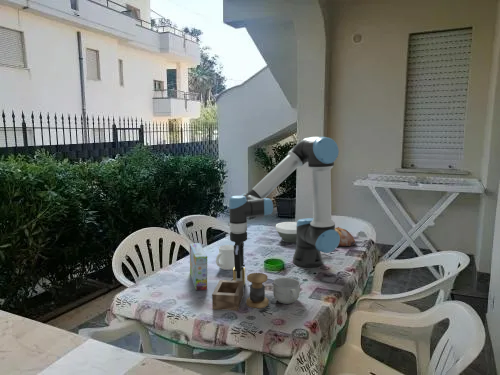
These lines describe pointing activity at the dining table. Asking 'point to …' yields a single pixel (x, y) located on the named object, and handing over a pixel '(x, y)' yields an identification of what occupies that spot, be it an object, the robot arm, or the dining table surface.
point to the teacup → (286, 290)
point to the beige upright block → (242, 275)
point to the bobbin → (257, 291)
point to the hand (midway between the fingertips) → (239, 282)
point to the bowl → (287, 231)
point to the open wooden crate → (228, 295)
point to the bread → (345, 237)
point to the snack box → (198, 266)
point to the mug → (226, 257)
